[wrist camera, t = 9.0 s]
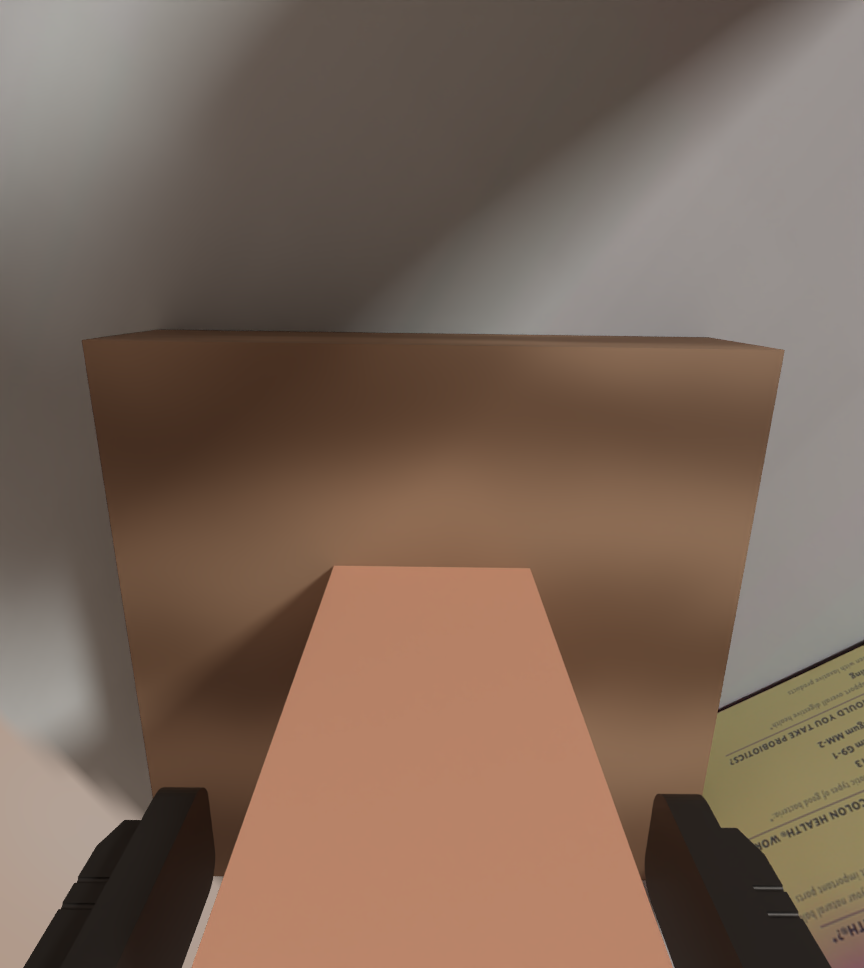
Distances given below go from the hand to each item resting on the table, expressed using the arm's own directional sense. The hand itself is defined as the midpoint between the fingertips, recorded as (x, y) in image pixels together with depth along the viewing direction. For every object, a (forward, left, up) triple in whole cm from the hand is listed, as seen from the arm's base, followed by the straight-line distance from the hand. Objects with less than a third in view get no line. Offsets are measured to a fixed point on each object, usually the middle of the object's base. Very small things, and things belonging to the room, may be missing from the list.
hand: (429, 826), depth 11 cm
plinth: (0, 0, -10) cm, 10 cm away
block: (0, 0, -6) cm, 6 cm away
